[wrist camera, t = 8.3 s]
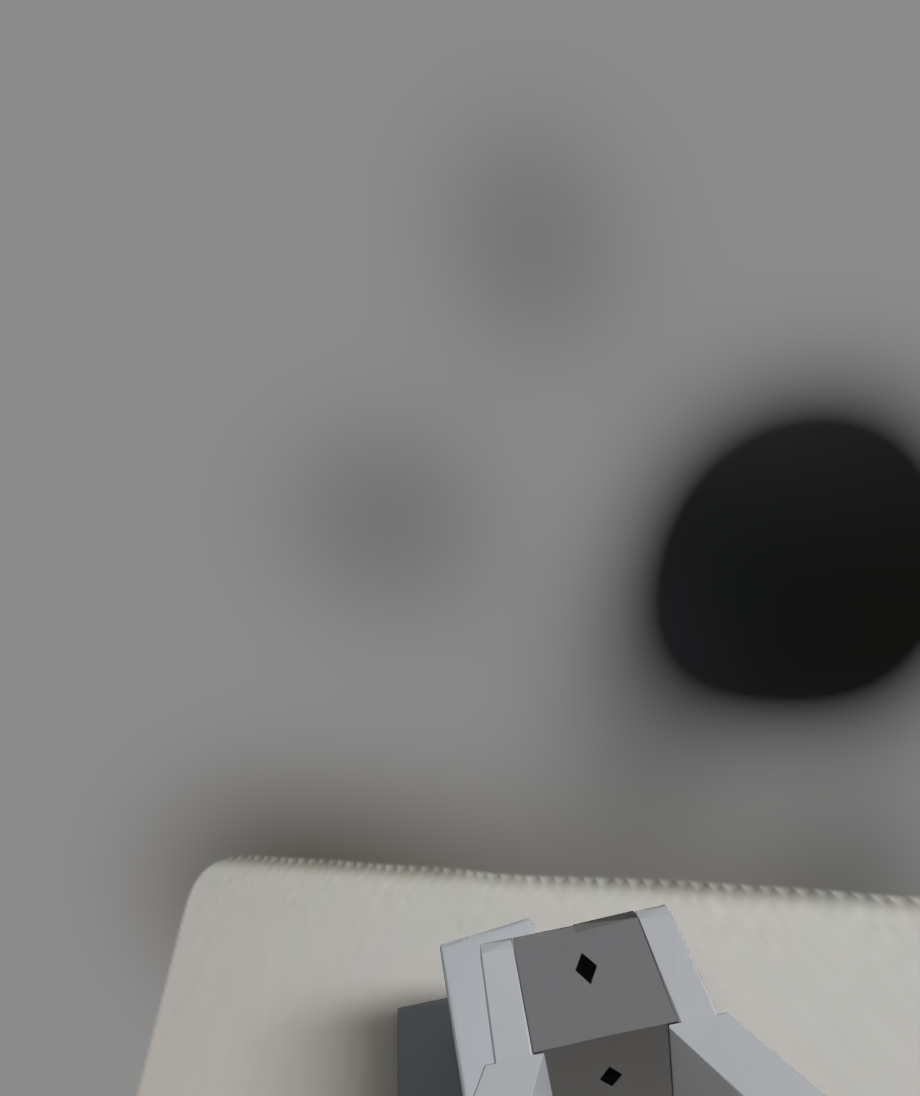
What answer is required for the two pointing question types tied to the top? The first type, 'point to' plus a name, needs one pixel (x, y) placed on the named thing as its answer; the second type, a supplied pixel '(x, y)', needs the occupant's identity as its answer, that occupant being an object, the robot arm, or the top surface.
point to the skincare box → (472, 999)
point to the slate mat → (427, 1051)
